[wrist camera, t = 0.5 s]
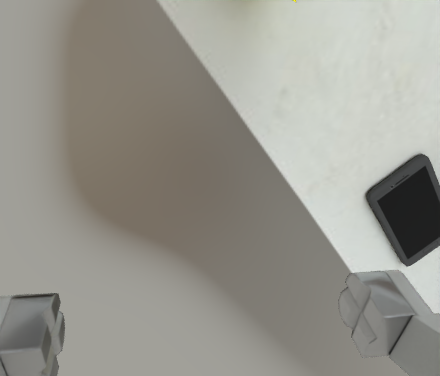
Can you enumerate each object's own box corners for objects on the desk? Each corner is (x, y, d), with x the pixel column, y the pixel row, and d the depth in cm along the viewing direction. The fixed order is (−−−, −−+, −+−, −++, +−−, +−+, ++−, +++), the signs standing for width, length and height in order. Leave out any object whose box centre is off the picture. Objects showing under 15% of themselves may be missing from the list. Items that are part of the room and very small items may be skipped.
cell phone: (402, 265, 46) (407, 269, 45) (363, 193, 39) (367, 197, 38) (453, 230, 45) (458, 233, 45) (422, 150, 38) (428, 152, 37)
